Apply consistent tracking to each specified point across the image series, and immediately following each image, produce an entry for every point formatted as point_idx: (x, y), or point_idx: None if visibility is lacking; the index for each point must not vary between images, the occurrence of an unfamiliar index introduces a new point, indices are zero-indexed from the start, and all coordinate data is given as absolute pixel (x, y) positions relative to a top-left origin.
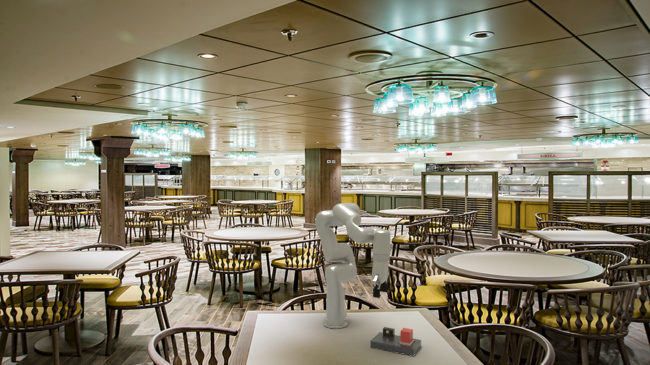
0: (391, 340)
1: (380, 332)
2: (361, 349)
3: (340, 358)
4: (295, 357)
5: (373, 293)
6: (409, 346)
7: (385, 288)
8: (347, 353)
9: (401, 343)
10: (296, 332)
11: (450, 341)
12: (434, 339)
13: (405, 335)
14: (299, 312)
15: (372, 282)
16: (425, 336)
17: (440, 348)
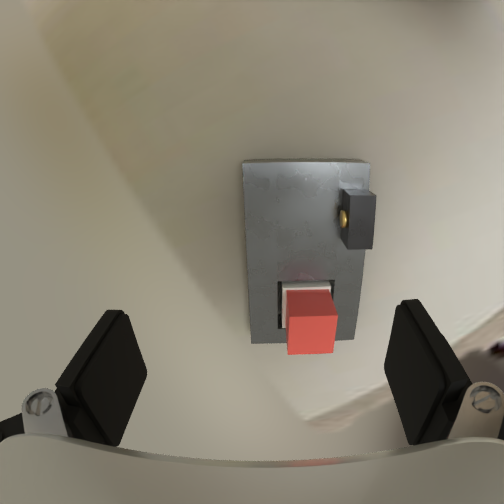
0: (295, 247)
1: (367, 168)
2: (206, 134)
3: (91, 112)
4: (40, 5)
5: (91, 341)
6: (270, 325)
7: (396, 394)
8: (140, 107)
9: (282, 293)
10: None
11: None
12: None
13: (287, 327)
14: None
15: (19, 441)
16: (443, 306)
17: (359, 369)
